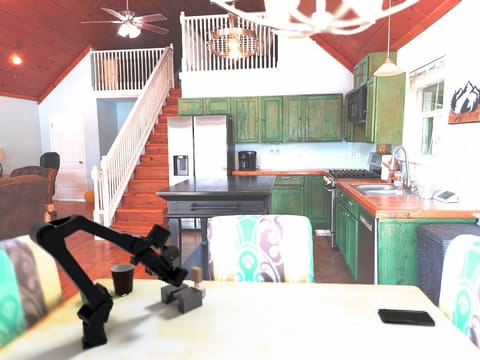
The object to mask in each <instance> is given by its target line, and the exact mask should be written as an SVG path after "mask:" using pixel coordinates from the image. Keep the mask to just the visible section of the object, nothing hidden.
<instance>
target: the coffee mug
mask: <svg viewBox="0 0 480 360" xmlns="http://www.w3.org/2000/svg"><path fill="white" fill-rule="evenodd" d="M110 272H111V278H112V279H111V280H112V282H113V284H112V285H113V291H114V293H115V294H117V295H124V294H129V293H131V292H132V291H133V290H134V277H135V275H134V274H135V266H134V265H132V264H130V263H122V264H117V265H114V266H112V267H111V268H110ZM133 292H134V291H133ZM133 292H132V293H133ZM132 293H131V294H132ZM115 294H114V295H115ZM117 295H116V296H117ZM129 295H130V294H129Z"/></svg>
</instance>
